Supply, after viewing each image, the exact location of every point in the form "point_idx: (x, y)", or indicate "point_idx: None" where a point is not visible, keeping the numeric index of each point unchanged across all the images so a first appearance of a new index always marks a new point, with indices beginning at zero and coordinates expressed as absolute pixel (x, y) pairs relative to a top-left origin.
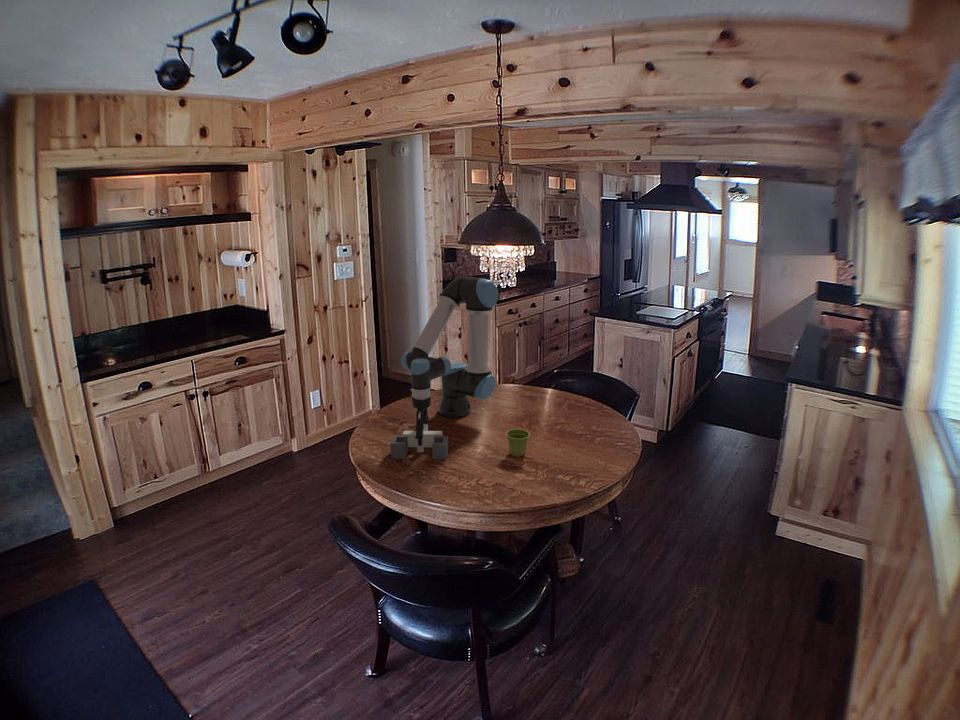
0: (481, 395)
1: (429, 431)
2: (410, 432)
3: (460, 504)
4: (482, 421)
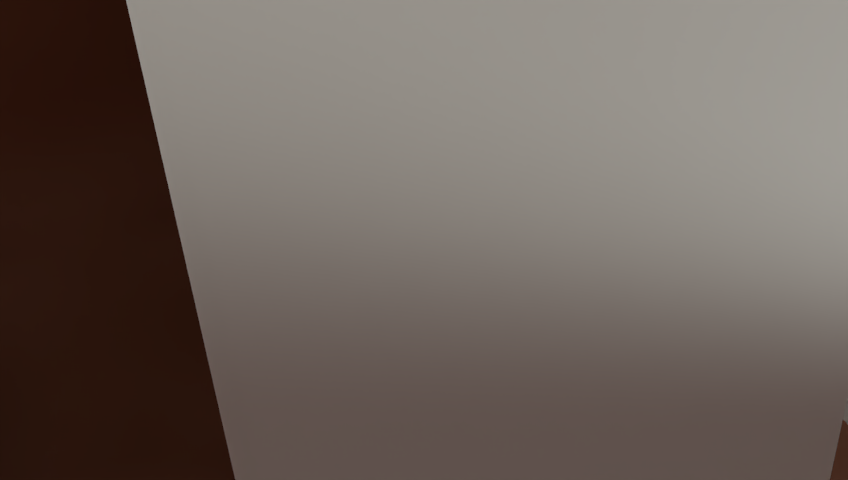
0: None
1: None
2: (576, 189)
3: None
4: None
